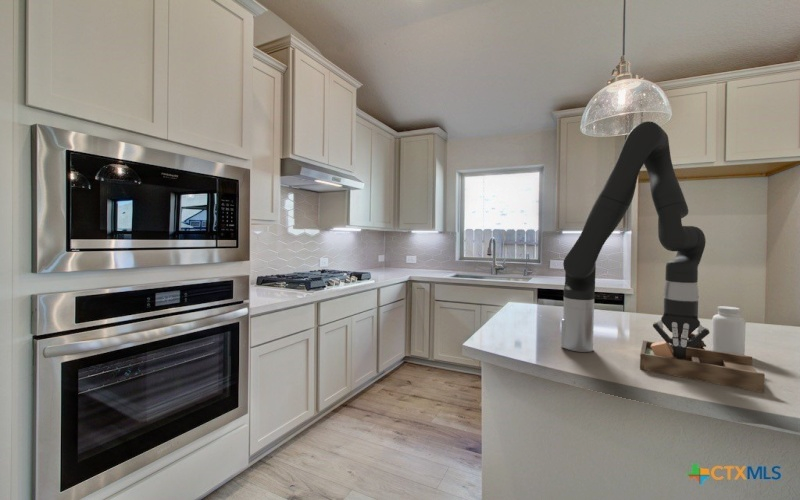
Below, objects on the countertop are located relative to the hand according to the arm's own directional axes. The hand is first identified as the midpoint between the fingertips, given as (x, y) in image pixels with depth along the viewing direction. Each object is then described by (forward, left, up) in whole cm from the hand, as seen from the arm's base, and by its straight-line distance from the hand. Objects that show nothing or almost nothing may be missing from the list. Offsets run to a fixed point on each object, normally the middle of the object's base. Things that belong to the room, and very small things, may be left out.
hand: (679, 358), depth 99 cm
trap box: (+4, +4, -4) cm, 7 cm away
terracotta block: (-3, +1, 0) cm, 3 cm away
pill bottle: (+13, +30, -4) cm, 33 cm away
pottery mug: (+2, +20, -4) cm, 21 cm away
